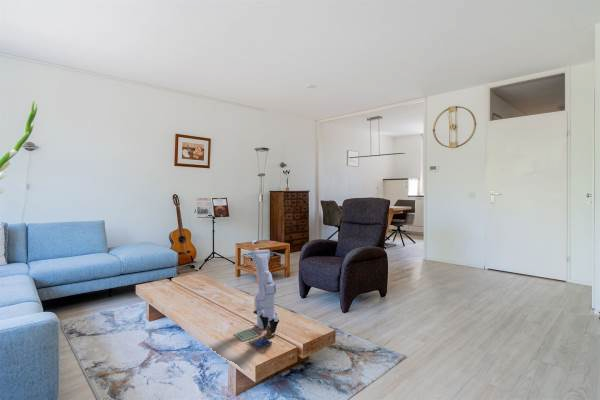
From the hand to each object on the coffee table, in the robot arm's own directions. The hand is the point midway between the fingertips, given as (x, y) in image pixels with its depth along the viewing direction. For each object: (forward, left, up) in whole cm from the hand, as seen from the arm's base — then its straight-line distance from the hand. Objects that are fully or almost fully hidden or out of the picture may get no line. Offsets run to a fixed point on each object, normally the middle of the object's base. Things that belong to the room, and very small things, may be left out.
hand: (269, 330), depth 176 cm
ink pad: (+8, +5, -3) cm, 10 cm away
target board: (+9, -9, -3) cm, 13 cm away
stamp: (0, 0, -4) cm, 4 cm away
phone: (-15, -28, -4) cm, 32 cm away
